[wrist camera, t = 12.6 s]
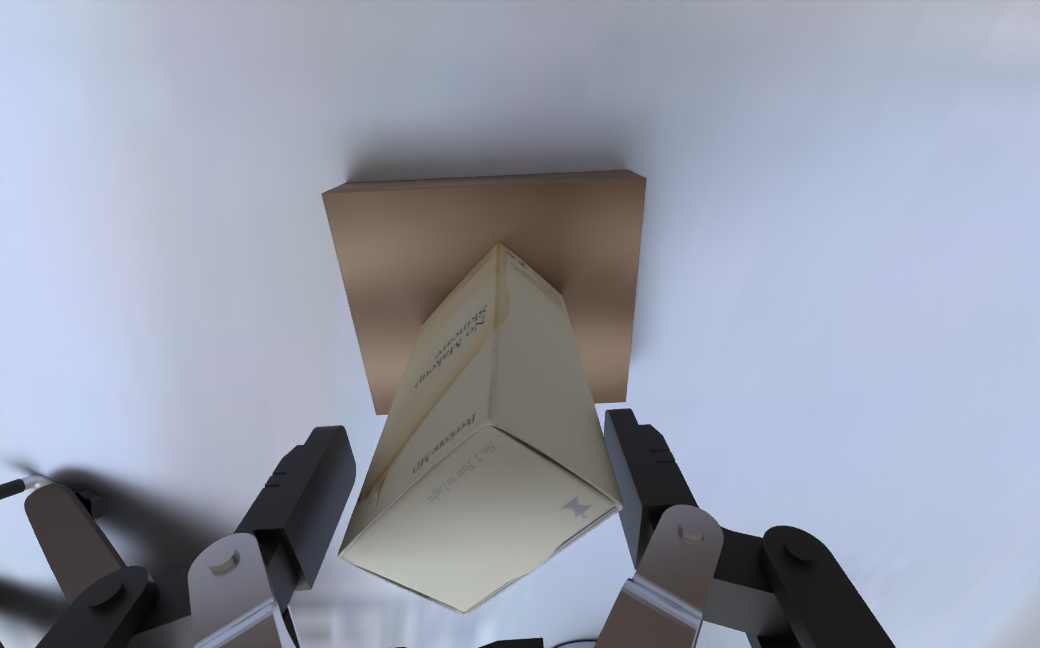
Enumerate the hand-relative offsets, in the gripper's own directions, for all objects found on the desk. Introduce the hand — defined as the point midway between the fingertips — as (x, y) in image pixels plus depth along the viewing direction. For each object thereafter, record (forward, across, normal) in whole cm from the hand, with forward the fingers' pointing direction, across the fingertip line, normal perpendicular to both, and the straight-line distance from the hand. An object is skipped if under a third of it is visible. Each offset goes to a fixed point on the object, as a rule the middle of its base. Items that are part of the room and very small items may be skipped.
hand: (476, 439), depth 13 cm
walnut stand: (+12, 0, 0) cm, 12 cm away
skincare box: (+9, 0, 0) cm, 9 cm away
